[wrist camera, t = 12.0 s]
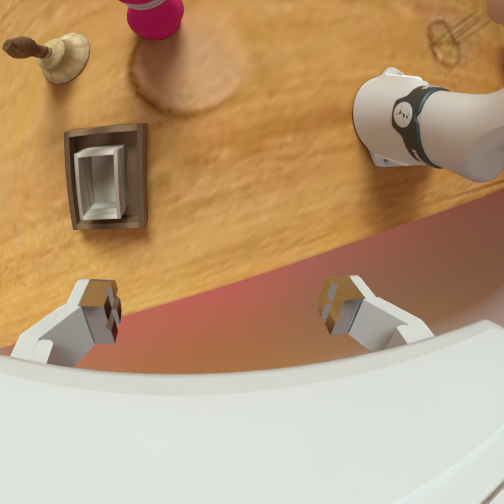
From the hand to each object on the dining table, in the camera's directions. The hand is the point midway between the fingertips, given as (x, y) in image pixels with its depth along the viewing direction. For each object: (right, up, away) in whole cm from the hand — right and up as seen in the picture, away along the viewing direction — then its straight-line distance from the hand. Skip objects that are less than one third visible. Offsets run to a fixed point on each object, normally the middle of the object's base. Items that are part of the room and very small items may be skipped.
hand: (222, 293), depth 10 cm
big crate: (-20, +13, +26) cm, 35 cm away
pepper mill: (-12, +33, +16) cm, 39 cm away
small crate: (-20, +13, +25) cm, 34 cm away
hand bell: (-26, +30, +15) cm, 42 cm away
